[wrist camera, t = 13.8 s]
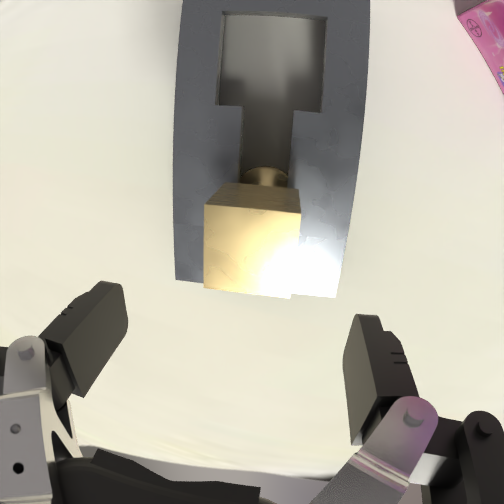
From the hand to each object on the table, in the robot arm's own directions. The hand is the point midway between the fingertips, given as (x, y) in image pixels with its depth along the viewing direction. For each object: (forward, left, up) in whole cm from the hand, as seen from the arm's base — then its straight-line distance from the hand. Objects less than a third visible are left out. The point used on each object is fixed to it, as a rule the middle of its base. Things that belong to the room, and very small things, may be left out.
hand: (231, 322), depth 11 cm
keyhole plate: (0, -5, -16) cm, 17 cm away
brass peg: (0, 0, -16) cm, 16 cm away
